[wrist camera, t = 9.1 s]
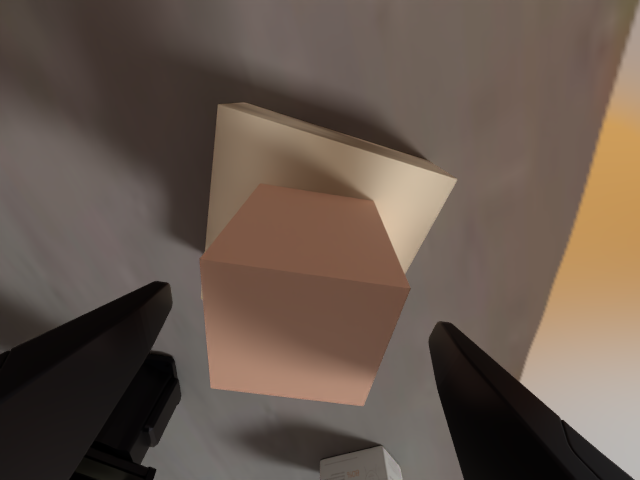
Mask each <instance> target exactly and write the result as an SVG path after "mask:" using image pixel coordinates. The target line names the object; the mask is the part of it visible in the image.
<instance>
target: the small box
mask: <svg viewBox="0 0 640 480" xmlns="http://www.w3.org/2000/svg"><path fill="white" fill-rule="evenodd" d="M320 480H403V479H402V475H401V470H400V466H399V465H398V464H397V463H396V462H395V460H394V459H393V458H392V457H391V456H390V454H389V453H388V452H387V451H386V450H385V448H384V447H383V446H377V447H373V448H369V449H364V450H360V451H356V452H352V453H348V454H344V455H339V456H335V457H331V458H327V459H323V460H321V461H320Z"/></svg>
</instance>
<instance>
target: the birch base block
mask: <svg viewBox="0 0 640 480" xmlns="http://www.w3.org/2000/svg"><path fill="white" fill-rule="evenodd" d="M456 181H457V179H456V178H455V177H453V176H452V175H450V174H448V173H447V172H445V171H444V170H442V169H441V168H439V167H438V166H436V165H435V164H433V163H431V162H430V161H428V160H425V159H422V158H419V157H415V156H412V155H409V154H406V153H403V152H400V151H397V150H393V149H390V148H387V147H384V146H381V145H378V144H374V143H371V142H368V141H365V140H362V139H359V138H356V137H352V136H349V135H346V134H343V133H340V132H337V131H334V130H330V129H327V128H324V127H321V126H318V125H315V124H312V123H308V122H305V121H302V120H299V119H296V118H293V117H289V116H286V115H283V114H280V113H277V112H274V111H271V110H267V109H264V108H261V107H258V106H255V105H252V104H249V103H245V102H241V103H229V104H218V110H217V121H216V132H215V144H214V155H213V166H212V177H211V189H210V200H209V211H208V222H207V234H206V245H205V252H206V250H207V249H208V248H209V247H210V245H211V244H212V243H213V242H214V240H215V239H216V238H217V237H218V235H219V234H220V233H221V232H222V230H223V229H224V228H225V226H226V225H227V224H228V223H229V221H230V220H231V219H232V218H233V216H234V215H235V214H236V213H237V211H238V210H239V209H240V208H241V206H242V205H243V204H244V203H245V201H246V200H247V199H248V198H249V196H250V195H251V194H252V193H253V191H254V190H255V189H256V188H257V186H258V185H259V184H260V183H261V184H267V185H274V186H280V187H287V188H293V189H300V190H306V191H313V192H319V193H326V194H332V195H339V196H345V197H352V198H358V199H365V200H372V201H374V203H375V205H376V208H377V210H378V212H379V215H380V217H381V220H382V222H383V224H384V227H385V229H386V231H387V234H388V236H389V239H390V241H391V243H392V246H393V248H394V250H395V253H396V255H397V257H398V260H399V262H400V265H401V267H402V269H403V272H404V274H405V273H406V271H407V270H408V268H409V266H410V264H411V262H412V261H413V259H414V257H415V255H416V253H417V252H418V250H419V248H420V246H421V244H422V243H423V241H424V239H425V237H426V235H427V234H428V232H429V230H430V228H431V226H432V224H433V223H434V221H435V219H436V217H437V215H438V214H439V212H440V210H441V208H442V206H443V205H444V203H445V201H446V199H447V197H448V196H449V194H450V192H451V190H452V188H453V187H454V185H455V183H456ZM201 299H203V293H202V290H201Z"/></svg>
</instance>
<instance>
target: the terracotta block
mask: <svg viewBox="0 0 640 480" xmlns="http://www.w3.org/2000/svg"><path fill="white" fill-rule="evenodd" d="M200 271H201V282H202V293H203V305H204V316H205V327H206V339H207V350H208V361H209V373H210V384H211V388H214V389H222V390H231V391H239V392H248V393H256V394H265V395H273V396H281V397H290V398H298V399H307V400H315V401H324V402H332V403H341V404H349V405H357V406H364V403H365V401H366V398H367V396H368V393H369V391H370V388H371V386H372V383H373V381H374V378H375V376H376V373H377V371H378V368H379V366H380V364H381V361H382V359H383V356H384V354H385V351H386V349H387V346H388V344H389V341H390V339H391V336H392V334H393V331H394V329H395V326H396V324H397V321H398V319H399V316H400V314H401V311H402V309H403V306H404V304H405V301H406V299H407V296H408V294H409V291H410V289H411V288H410V286H409V284H408V281H407V279H406V276H405V274H404V272H403V269H402V267H401V265H400V262H399V260H398V257H397V255H396V253H395V250H394V248H393V246H392V243H391V241H390V239H389V236H388V234H387V231H386V229H385V227H384V224H383V222H382V220H381V217H380V215H379V212H378V210H377V208H376V205H375V203H374V201H372V200H365V199H358V198H352V197H345V196H339V195H332V194H326V193H319V192H313V191H306V190H300V189H293V188H287V187H280V186H274V185H267V184H261V183H260V184H259V185H258V186H257V188H256V189H255V190H254V191H253V193H252V194H251V195H250V196H249V198H248V199H247V200H246V201H245V203H244V204H243V205H242V206H241V208H240V209H239V210H238V211H237V213H236V214H235V215H234V216H233V218H232V219H231V220H230V221H229V223H228V224H227V225H226V226H225V228H224V229H223V230H222V232H221V233H220V234H219V235H218V237H217V238H216V239H215V240H214V242H213V243H212V244H211V245H210V247H209V248H208V249H207V250H206V252H205V253H204V254H203V255H202V257H201V258H200Z"/></svg>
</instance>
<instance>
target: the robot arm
mask: <svg viewBox="0 0 640 480" xmlns="http://www.w3.org/2000/svg"><path fill="white" fill-rule="evenodd" d="M172 303H173V301H172V294H171V287H170V284H169V283H167V282H161V281H154V282H152V283H150V284H148V285H145V286H143V287H141V288H139V289H137V290H135V291H133V292H131V293H129V294H126V295H124V296H122V297H120V298H118V299H116V300H114V301H112V302H110V303H107V304H105V305H103V306H101V307H99V308H97V309H95V310H93V311H91V312H88V313H86V314H84V315H82V316H80V317H78V318H76V319H74V320H71V321H69V322H67V323H65V324H63V325H61V326H59V327H57V328H55V329H52V330H50V331H48V332H46V333H44V334H42V335H40V336H38V337H35V338H33V339H31V340H29V341H27V342H25V343H23V344H21V345H19V346H16V347H14V348H12V349H11V351H6V352H4V353H1V354H0V480H153V478H154V475H155V473H156V469H155V468H152V467H145V466H142V465H140V464H141V462H142V460H143V458H144V456H145V454H146V452H147V450H148V448H149V447H155V446H156V445H157V444H158V443H159V441H160V439H161V436H162V434H163V432H164V430H165V428H166V426H167V424H168V422H169V420H170V418H171V416H172V414H173V412H174V410H175V408H176V406H177V405H178V404H179V402H180V400H181V391H180V385H179V380H178V378H177V372H176V365H175V361H174V359H172V358H170V357H165V356H157V355H149V352H150V350H151V348H152V346H153V345H154V342H155V340H156V338H157V336H158V334H159V332H160V330H161V328H162V326H163V324H164V322H165V320H166V318H167V316H168V314H169V312H170V310H171V308H172ZM429 349H430V354H431V359H432V365H433V370H434V375H435V380H436V385H437V390H438V393H439V397H440V400H441V404H442V407H443V410H444V414H445V417H446V420H447V424H448V427H449V431H450V434H451V437H452V441H453V444H454V447H455V451H456V454H457V457H458V461H459V464H460V468H461V471H462V474H463V478H464V480H634V479H633V478H632V477H631V476H629V475H628V474H627V473H626V472H624V471H623V470H622V469H621V468H620V467H618V466H617V465H616V464H615V463H613V462H612V461H611V460H610V459H608V458H607V457H606V456H605V455H603V454H602V453H601V452H600V451H599V450H597V449H596V448H595V447H594V446H593V445H592V444H590V443H589V442H588V441H587V440H585V439H584V438H583V437H582V436H581V435H580V434H579V433H577V432H576V431H575V430H574V429H573V428H572V427H570V426H569V425H568V424H567V423H566V422H565V421H564V420H561V419H560V417H559V416H558V415H557V414H556V413H554V412H553V411H552V410H551V409H550V408H548V407H547V406H546V405H545V404H544V403H543V402H542V401H540V400H539V399H538V398H537V397H536V396H535V395H534V394H532V393H531V392H530V391H529V390H528V389H527V388H526V387H524V386H523V385H522V384H521V383H520V382H519V381H518V380H516V379H515V378H514V377H513V376H512V375H511V374H509V373H508V372H507V371H506V370H505V369H504V368H503V367H501V366H500V365H499V364H498V363H497V362H496V361H494V360H493V359H492V358H491V357H490V356H489V355H488V354H486V353H485V352H484V351H483V350H482V349H481V348H479V347H478V346H477V345H476V344H475V343H474V342H473V341H471V340H470V339H469V338H468V337H467V336H466V335H465V334H463V333H462V332H461V331H460V330H459V329H458V328H456V327H455V326H454V325H453V324H452V323H449V322H442V321H439V322H437V324H436V325H435V327H434V329H433V331H432V333H431V335H430V337H429Z"/></svg>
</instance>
